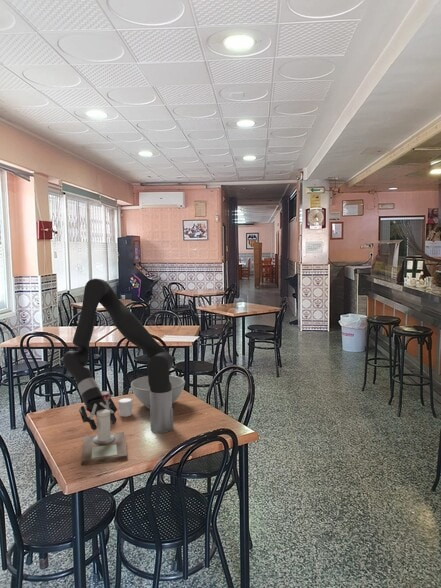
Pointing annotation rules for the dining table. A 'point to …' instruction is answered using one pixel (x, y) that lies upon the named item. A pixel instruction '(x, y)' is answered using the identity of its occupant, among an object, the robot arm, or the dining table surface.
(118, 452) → the post board
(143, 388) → the decorative bowl
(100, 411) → the salt shaker
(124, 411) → the white tapered cup
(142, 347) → the robot arm
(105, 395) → the soda can
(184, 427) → the dining table surface
